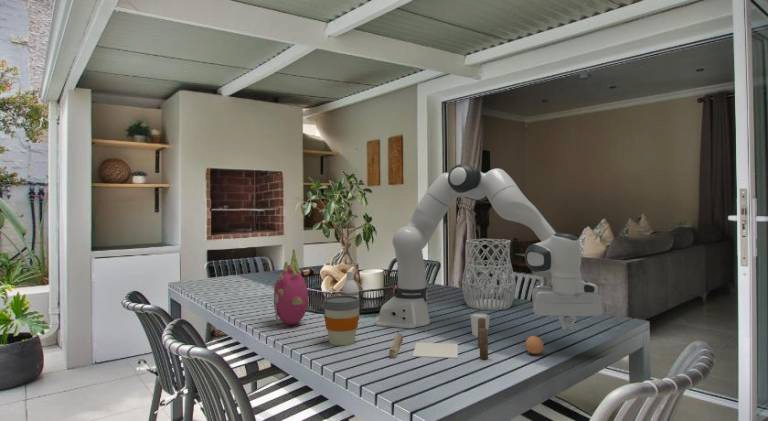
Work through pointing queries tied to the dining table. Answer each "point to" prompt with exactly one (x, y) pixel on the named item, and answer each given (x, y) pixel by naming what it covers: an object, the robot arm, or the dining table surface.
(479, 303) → the vase
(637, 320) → the dining table surface
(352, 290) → the bath foam
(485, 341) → the post
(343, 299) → the reusable coffee cup
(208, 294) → the dining table surface
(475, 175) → the robot arm
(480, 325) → the post
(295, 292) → the pink dragon fruit
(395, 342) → the stopper rail
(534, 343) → the ball
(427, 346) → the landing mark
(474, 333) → the shot glass
